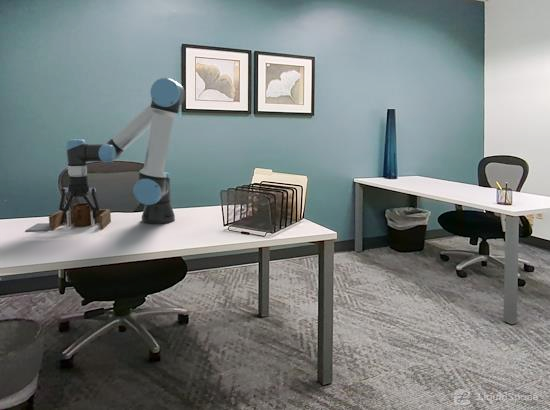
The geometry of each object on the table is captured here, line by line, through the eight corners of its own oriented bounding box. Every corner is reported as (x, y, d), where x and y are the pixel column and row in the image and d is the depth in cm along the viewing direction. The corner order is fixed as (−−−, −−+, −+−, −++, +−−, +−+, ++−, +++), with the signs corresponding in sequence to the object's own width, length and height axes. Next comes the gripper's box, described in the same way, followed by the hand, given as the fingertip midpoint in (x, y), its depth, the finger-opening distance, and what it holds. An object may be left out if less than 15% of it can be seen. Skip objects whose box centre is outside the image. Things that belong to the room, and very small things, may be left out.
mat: (58, 224, 195) (58, 223, 195) (47, 231, 182) (47, 229, 182) (37, 224, 194) (37, 223, 194) (25, 231, 181) (25, 230, 181)
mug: (85, 229, 186) (83, 208, 185) (67, 229, 186) (65, 208, 184) (94, 223, 198) (93, 203, 197) (77, 223, 198) (76, 203, 196)
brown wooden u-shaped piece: (110, 221, 202) (110, 209, 200) (102, 229, 187) (102, 215, 186) (62, 222, 199) (61, 209, 197) (49, 230, 184) (48, 216, 183)
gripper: (106, 174, 193) (109, 223, 197) (54, 174, 190) (57, 224, 194) (102, 176, 186) (105, 227, 190) (47, 176, 183) (51, 228, 187)
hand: (81, 225), depth 192 cm, fingers open, 9 cm apart
